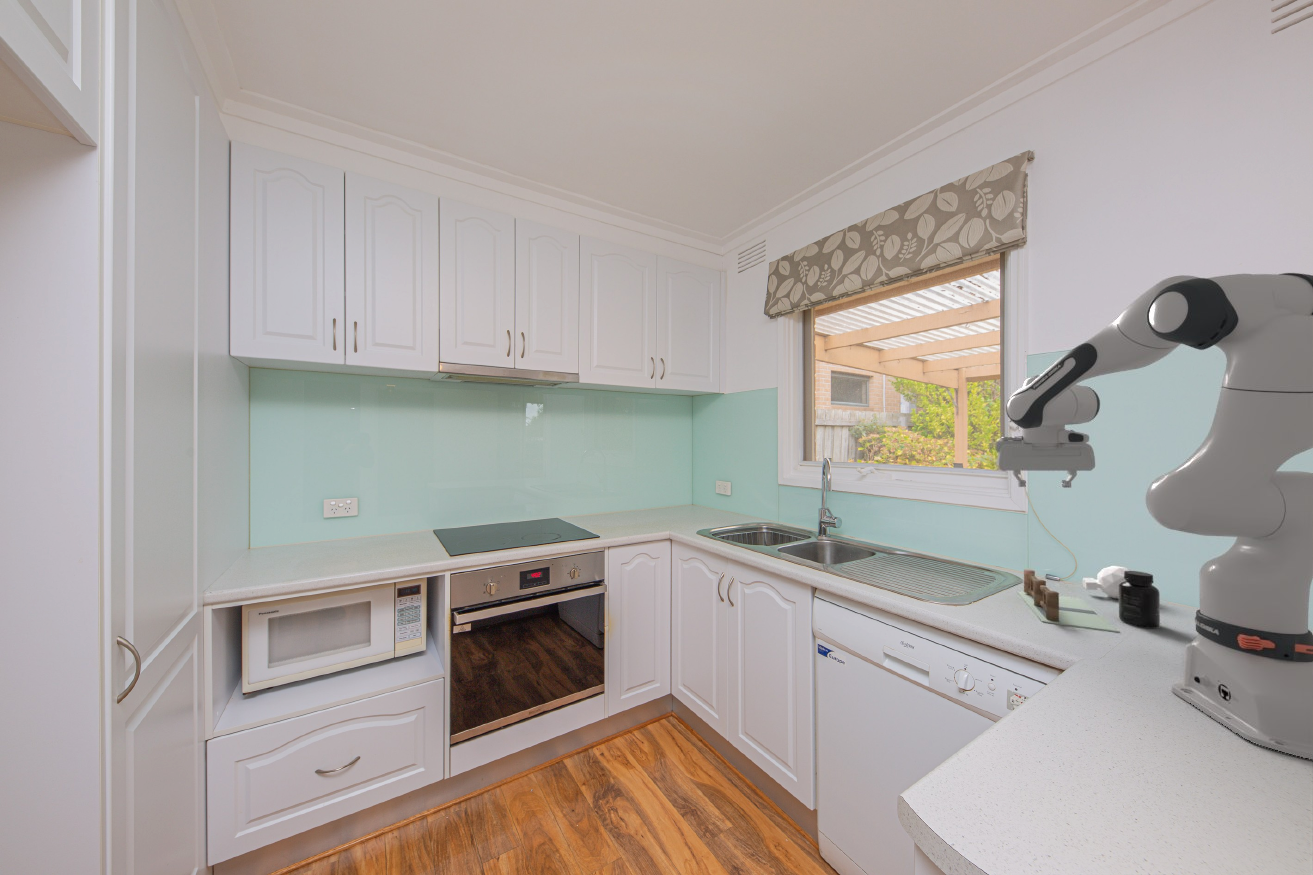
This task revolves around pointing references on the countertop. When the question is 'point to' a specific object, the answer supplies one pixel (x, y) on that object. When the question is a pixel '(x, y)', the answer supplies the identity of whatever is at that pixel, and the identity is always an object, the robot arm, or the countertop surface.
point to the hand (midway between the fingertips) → (1043, 487)
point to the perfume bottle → (1107, 581)
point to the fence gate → (1029, 581)
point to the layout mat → (1071, 613)
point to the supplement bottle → (1139, 600)
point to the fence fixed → (1046, 600)
